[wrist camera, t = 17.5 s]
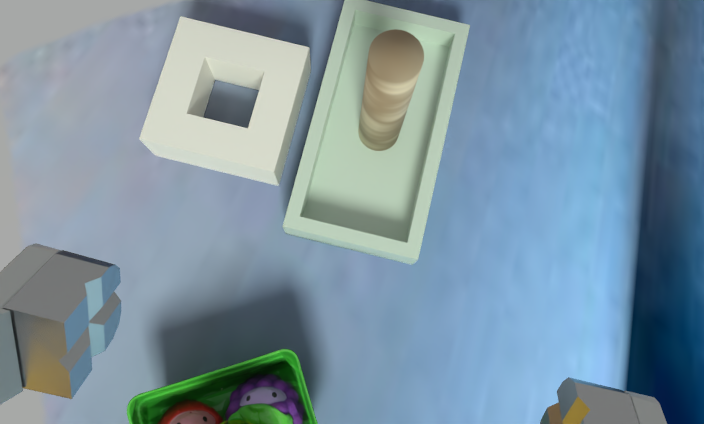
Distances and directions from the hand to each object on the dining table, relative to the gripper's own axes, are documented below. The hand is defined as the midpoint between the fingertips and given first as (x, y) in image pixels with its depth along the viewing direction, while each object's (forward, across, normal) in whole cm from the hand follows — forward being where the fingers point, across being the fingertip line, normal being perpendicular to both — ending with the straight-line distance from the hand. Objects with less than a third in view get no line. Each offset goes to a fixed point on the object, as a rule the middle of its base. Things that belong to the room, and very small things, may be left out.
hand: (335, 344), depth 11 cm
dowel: (+35, 0, +12) cm, 37 cm away
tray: (+36, 0, +13) cm, 38 cm away
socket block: (+35, +12, +13) cm, 39 cm away
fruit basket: (+19, +5, +30) cm, 36 cm away
